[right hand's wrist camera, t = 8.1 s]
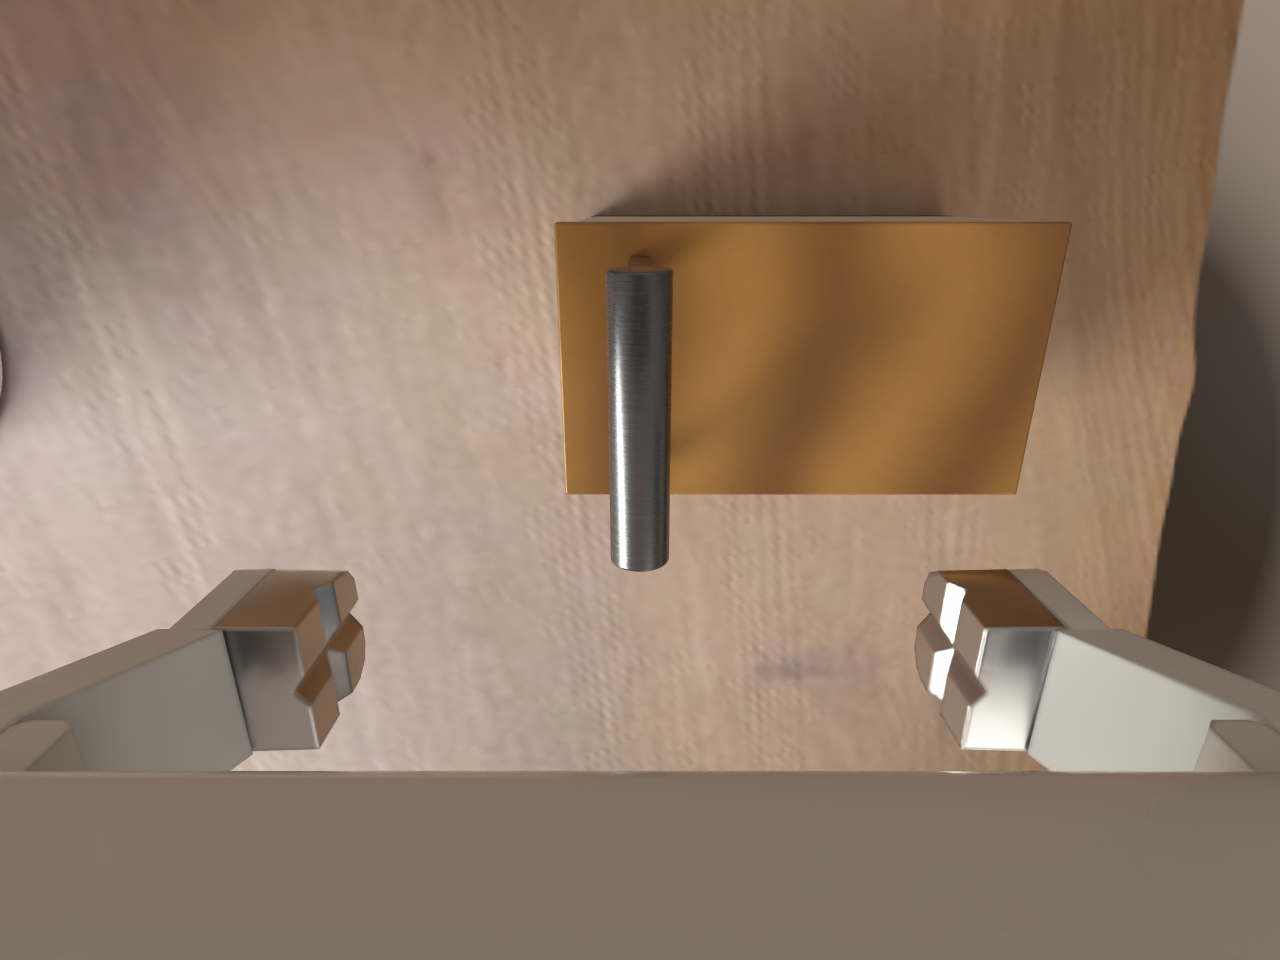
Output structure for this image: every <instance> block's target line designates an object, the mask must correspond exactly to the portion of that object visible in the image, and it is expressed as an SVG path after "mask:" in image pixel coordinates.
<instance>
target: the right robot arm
mask: <svg viewBox="0 0 1280 960" xmlns="http://www.w3.org/2000/svg"><path fill="white" fill-rule="evenodd" d="M2 378H3V371H2V358H1V351H0V396H1V390H2ZM357 601H358V595H357V590H356V585H355V580H354V578H353V577H352V575H351V574H350V573H349V572H348V571H328V570H276V569H249V570H235V571H234V572H233V573H231V574H230V575H229V576H228V577H227V578H226V579H225V580H224V581H222V582H221V583H220V584H219V585H218V586H217V587H216V588H215V589H214V590H212V591H211V592H210V593H209V594H208V595H207V596H206V597H205V598H203V599H202V600H201V601H200V602H199V603H198V604H197V605H196V606H195V607H193V608H192V609H191V610H190V611H189V612H188V613H187V614H186V615H184V616H183V617H182V618H181V619H180V620H179V621H178V622H177V623H176V624H174V625H173V626H172V627H171V628H170V629H157V630H154V631H152V632H149V633H147V634H144V635H142V636H139V637H137V638H134V639H131V640H129V641H126V642H124V643H121V644H119V645H116V646H114V647H111V648H109V649H106V650H104V651H101V652H99V653H96V654H93V655H91V656H88V657H86V658H83V659H81V660H78V661H76V662H73V663H71V664H68V665H66V666H63V667H60V668H58V669H55V670H53V671H50V672H48V673H45V674H43V675H40V676H38V677H35V678H33V679H30V680H28V681H25V682H22V683H20V684H17V685H15V686H12V687H10V688H7V689H5V690H2V691H0V960H1280V691H1277V690H1275V689H1272V688H1270V687H1267V686H1265V685H1262V684H1260V683H1257V682H1255V681H1252V680H1250V679H1247V678H1245V677H1242V676H1239V675H1237V674H1234V673H1232V672H1229V671H1227V670H1224V669H1222V668H1219V667H1217V666H1214V665H1212V664H1209V663H1207V662H1204V661H1202V660H1199V659H1196V658H1194V657H1191V656H1189V655H1186V654H1184V653H1181V652H1179V651H1176V650H1174V649H1171V648H1169V647H1166V646H1164V645H1161V644H1159V643H1156V642H1154V641H1151V640H1148V639H1146V638H1143V637H1141V636H1138V635H1136V634H1133V633H1131V632H1128V631H1126V630H1123V629H1110V628H1109V627H1108V626H1107V625H1106V624H1105V623H1103V622H1102V621H1101V620H1100V619H1099V618H1098V617H1097V616H1096V615H1095V614H1093V613H1092V612H1091V611H1090V610H1089V609H1088V608H1087V607H1086V606H1085V605H1083V604H1082V603H1081V602H1080V601H1079V600H1078V599H1077V598H1076V597H1074V596H1073V595H1072V594H1071V593H1070V592H1069V591H1068V590H1067V589H1066V588H1064V587H1063V586H1062V585H1061V584H1060V583H1059V582H1058V581H1057V580H1056V579H1054V578H1053V577H1052V576H1051V575H1050V574H1049V573H1048V572H1047V571H1044V570H1040V569H1017V570H1007V569H999V570H957V571H935V572H930V573H929V575H928V577H927V579H926V581H925V583H924V589H923V595H922V601H923V602H924V604H925V605H926V607H927V608H928V610H929V611H930V614H929V615H928V616H927V617H926V618H925V619H924V620H923V621H922V622H921V623H920V624H919V625H918V626H917V632H916V639H915V658H916V667H917V670H918V674H919V677H920V680H921V682H922V684H923V685H924V687H925V689H926V691H927V693H929V694H931V695H932V696H934V697H936V698H937V699H939V700H940V701H942V708H941V713H940V715H941V716H942V718H943V720H944V721H945V723H946V725H947V727H948V728H949V730H950V732H951V733H952V735H953V737H954V738H955V740H956V742H957V743H958V745H959V747H960V748H961V749H972V750H1009V751H1028V752H1027V754H1028V755H1029V756H1031V757H1032V758H1033V759H1035V760H1036V761H1038V762H1039V763H1040V764H1042V765H1043V766H1044V767H1046V768H1047V769H1048V770H1050V771H230V770H232V769H233V768H235V767H236V766H237V765H239V764H240V763H241V762H243V761H244V760H245V759H247V758H248V757H249V756H251V755H252V754H253V752H252V751H270V750H306V749H319V748H320V747H321V745H322V743H323V742H324V740H325V738H326V737H327V735H328V733H329V732H330V730H331V728H332V727H333V725H334V723H335V722H336V720H337V718H338V716H339V715H340V713H339V707H338V701H340V700H341V699H343V698H344V697H346V696H348V695H349V694H351V693H353V691H354V689H355V687H356V685H357V683H358V682H359V680H360V678H361V673H362V669H363V665H364V661H365V637H364V631H363V626H362V625H361V624H360V623H359V622H358V621H357V620H356V619H355V618H354V617H353V616H352V615H351V614H350V612H351V610H352V608H353V607H354V605H355V604H356V602H357Z"/></svg>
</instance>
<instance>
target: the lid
mask: <svg viewBox="0 0 1280 960" xmlns="http://www.w3.org/2000/svg"><path fill="white" fill-rule="evenodd" d="M1071 226H1072V223H1070V222H557V223H555V225H554V227H555V251H556V275H557V299H558V323H559V347H560V371H561V395H562V419H563V443H564V467H565V491H566V494H610V532H611V560H612V562H613V563H614V564H615V565H616V566H618V567H619V568H622V569H625V570H629V571H638V572H642V571H651V570H655V569H658V568H660V567H662V566H664V565H665V564H666V563H667V561H668V559H669V512H670V494H1016V491H1017V487H1018V482H1019V477H1020V472H1021V467H1022V463H1023V458H1024V453H1025V448H1026V443H1027V438H1028V434H1029V429H1030V424H1031V419H1032V414H1033V410H1034V405H1035V400H1036V395H1037V390H1038V385H1039V381H1040V376H1041V371H1042V366H1043V361H1044V357H1045V352H1046V347H1047V342H1048V337H1049V332H1050V328H1051V323H1052V318H1053V313H1054V308H1055V304H1056V299H1057V294H1058V289H1059V284H1060V279H1061V275H1062V270H1063V265H1064V260H1065V255H1066V251H1067V246H1068V241H1069V236H1070V231H1071Z"/></svg>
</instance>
